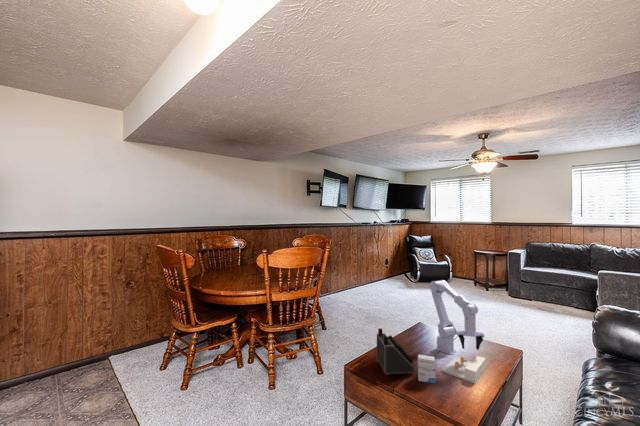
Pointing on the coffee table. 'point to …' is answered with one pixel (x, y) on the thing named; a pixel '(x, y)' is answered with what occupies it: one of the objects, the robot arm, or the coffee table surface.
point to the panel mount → (467, 369)
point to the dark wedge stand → (392, 355)
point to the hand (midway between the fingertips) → (470, 348)
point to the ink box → (426, 369)
